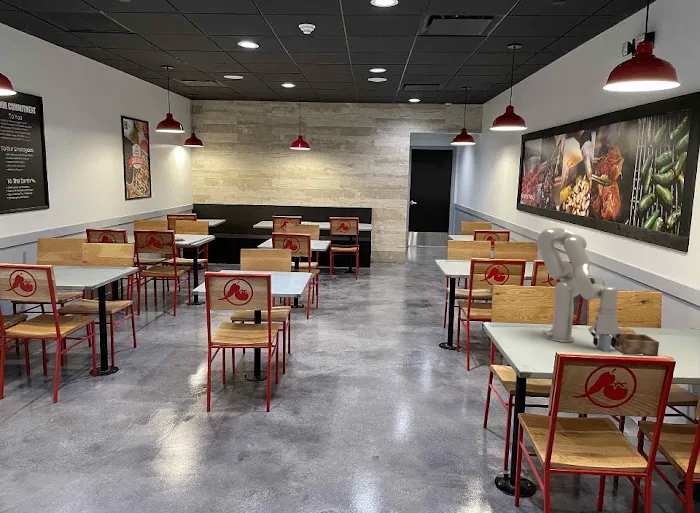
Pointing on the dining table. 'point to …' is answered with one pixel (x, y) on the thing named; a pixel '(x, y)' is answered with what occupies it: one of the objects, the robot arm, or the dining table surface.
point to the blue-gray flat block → (604, 342)
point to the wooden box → (637, 344)
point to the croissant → (627, 330)
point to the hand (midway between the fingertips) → (604, 345)
